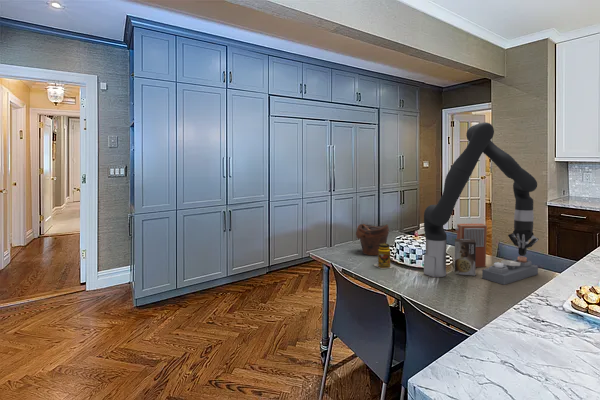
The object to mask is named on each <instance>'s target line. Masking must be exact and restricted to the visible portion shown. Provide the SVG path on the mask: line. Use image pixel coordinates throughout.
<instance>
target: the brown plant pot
mask: <svg viewBox="0 0 600 400" xmlns="http://www.w3.org/2000/svg"><path fill="white" fill-rule="evenodd" d="M389 232H390V227H389V224H384V225H377V226H376V225H372V224H366V223H361V224H359V225H358V226H357V228H356V231H355V235H356V238H357V240H359V241H360V245H361V246H360V247H361V250H362V253H363V254H364V255H368V256H378V249H379V244H381V243H386V244H387V240H388V236H389V234H390V233H389Z"/></svg>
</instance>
